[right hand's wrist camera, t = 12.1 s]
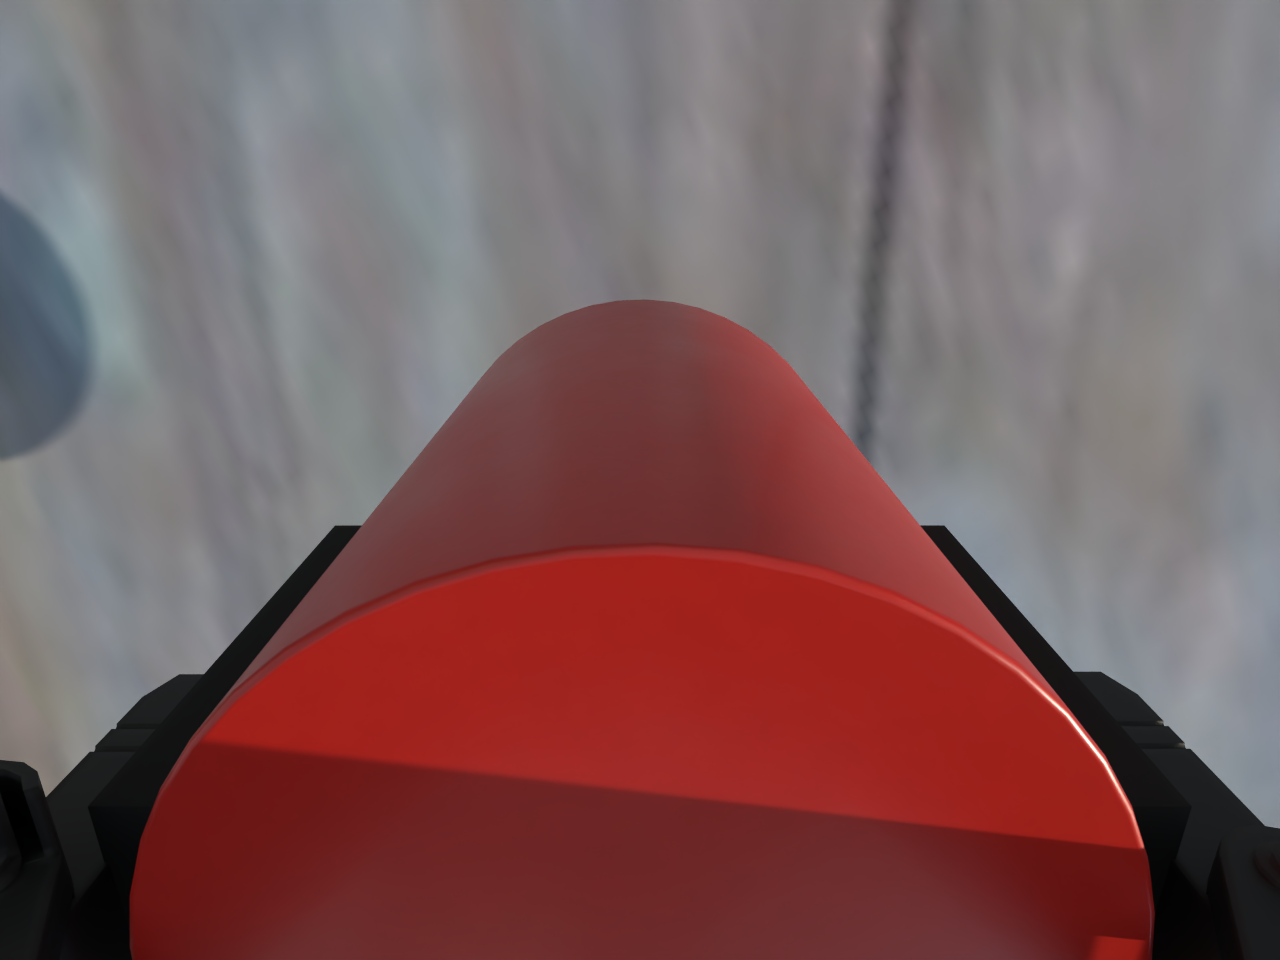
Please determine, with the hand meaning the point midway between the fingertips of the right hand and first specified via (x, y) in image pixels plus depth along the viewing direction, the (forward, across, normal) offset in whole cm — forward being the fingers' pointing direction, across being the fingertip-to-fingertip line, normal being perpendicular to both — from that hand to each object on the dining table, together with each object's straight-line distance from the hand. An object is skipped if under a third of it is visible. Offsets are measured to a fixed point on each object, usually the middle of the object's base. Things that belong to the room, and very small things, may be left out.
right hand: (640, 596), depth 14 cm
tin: (+5, 0, 0) cm, 5 cm away
